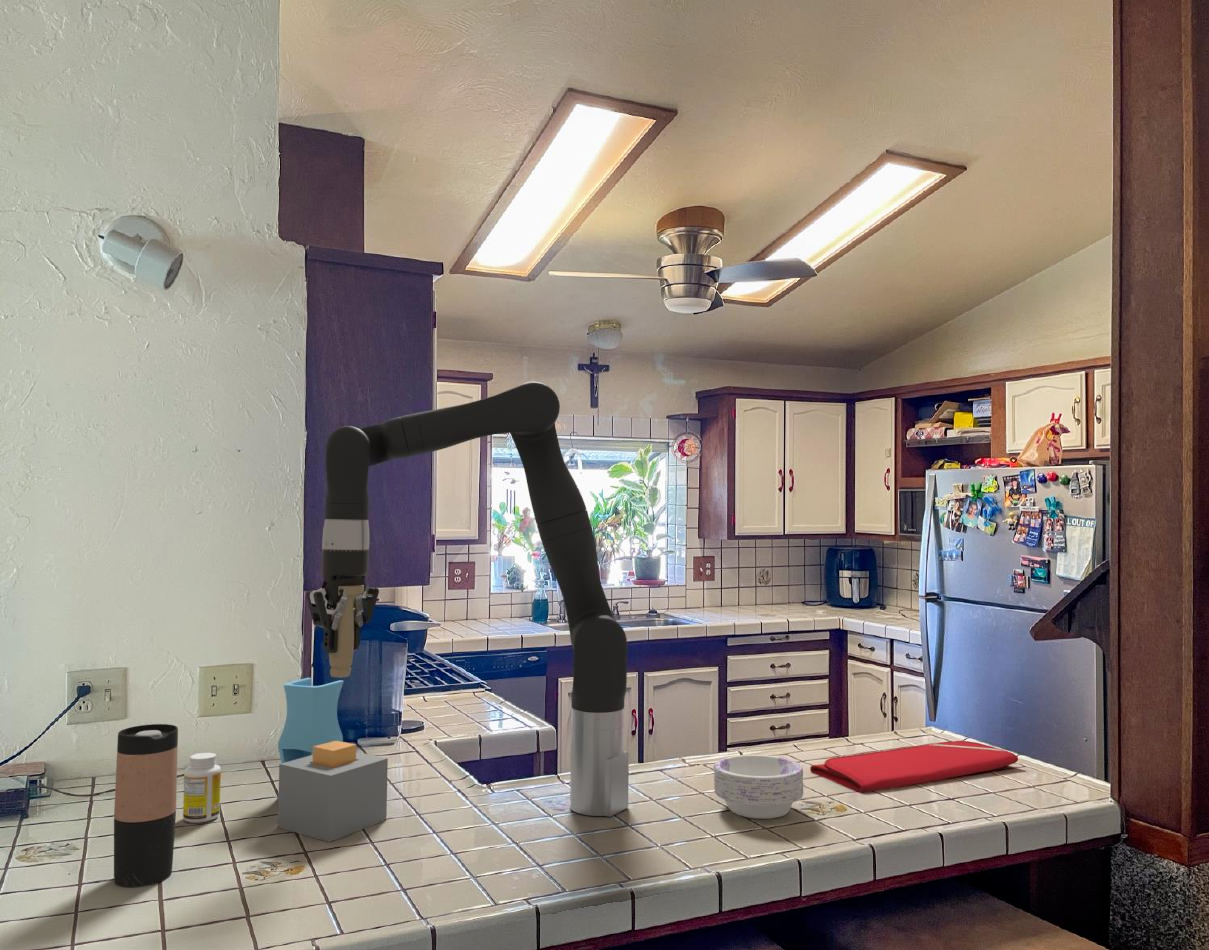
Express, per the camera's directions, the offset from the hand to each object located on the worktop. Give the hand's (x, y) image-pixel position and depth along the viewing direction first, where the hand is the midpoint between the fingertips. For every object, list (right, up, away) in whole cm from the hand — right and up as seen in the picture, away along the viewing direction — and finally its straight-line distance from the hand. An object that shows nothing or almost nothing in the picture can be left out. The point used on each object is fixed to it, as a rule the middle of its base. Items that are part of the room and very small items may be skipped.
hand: (341, 650), depth 147 cm
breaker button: (-1, -19, -2) cm, 19 cm away
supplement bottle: (-23, -28, 0) cm, 36 cm away
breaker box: (-1, -28, -2) cm, 28 cm away
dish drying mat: (+106, -31, +32) cm, 115 cm away
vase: (-9, -29, +12) cm, 33 cm away
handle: (0, -4, 0) cm, 4 cm away
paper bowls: (+70, -29, +6) cm, 76 cm away
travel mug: (-20, -27, -24) cm, 41 cm away
